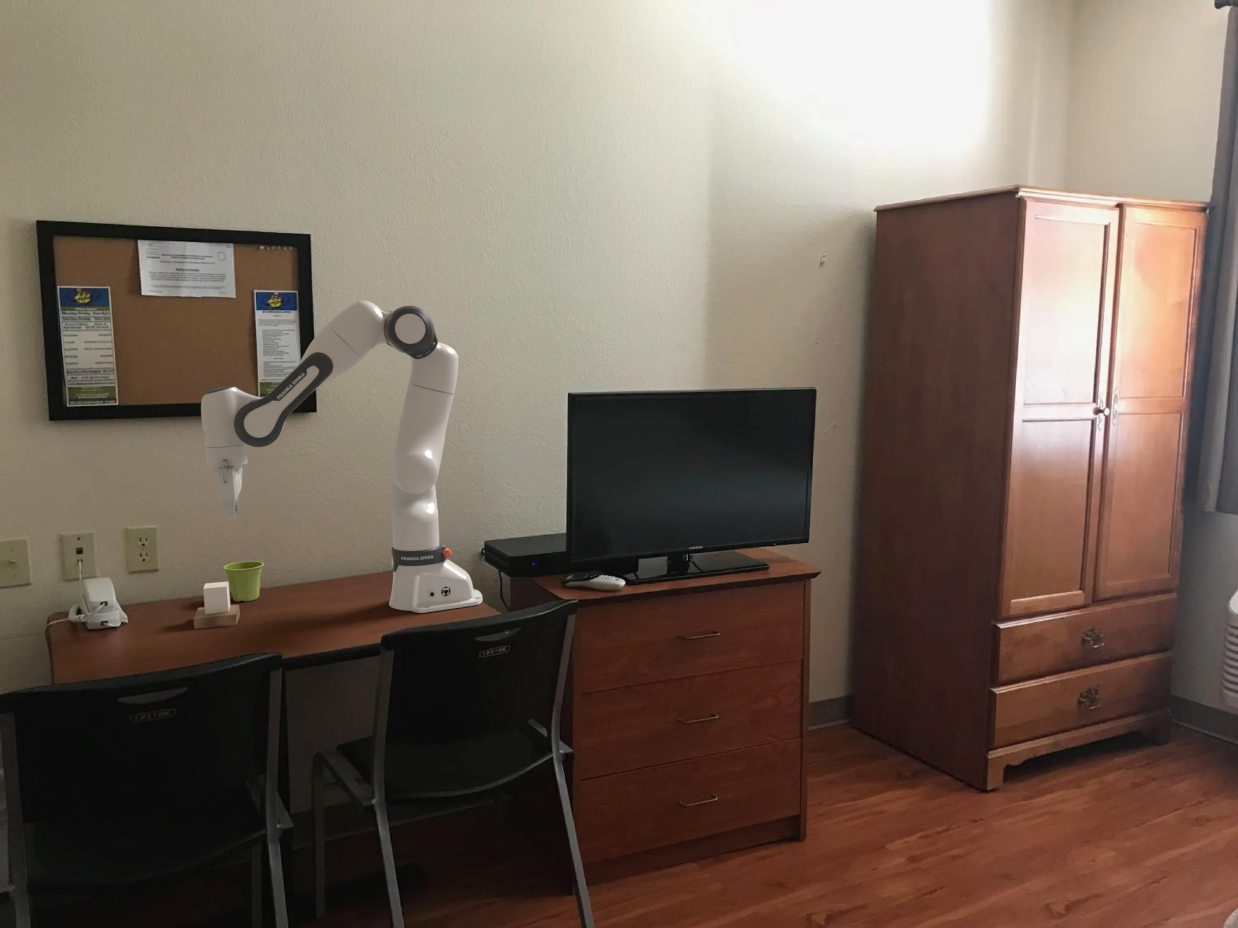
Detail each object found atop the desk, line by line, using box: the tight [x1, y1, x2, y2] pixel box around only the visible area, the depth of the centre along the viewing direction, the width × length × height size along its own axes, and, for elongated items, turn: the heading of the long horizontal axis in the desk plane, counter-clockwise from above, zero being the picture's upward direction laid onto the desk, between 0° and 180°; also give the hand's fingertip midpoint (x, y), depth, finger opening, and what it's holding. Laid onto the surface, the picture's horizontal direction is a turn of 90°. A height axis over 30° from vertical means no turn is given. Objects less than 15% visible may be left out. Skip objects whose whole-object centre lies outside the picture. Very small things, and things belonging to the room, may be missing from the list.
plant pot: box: [223, 560, 265, 603], centre depth 254 cm, size 9×9×9 cm
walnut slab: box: [193, 603, 240, 630], centre depth 235 cm, size 9×9×3 cm
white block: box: [202, 581, 231, 614], centre depth 236 cm, size 5×5×6 cm
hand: (233, 516), depth 236 cm, fingers open, 8 cm apart
